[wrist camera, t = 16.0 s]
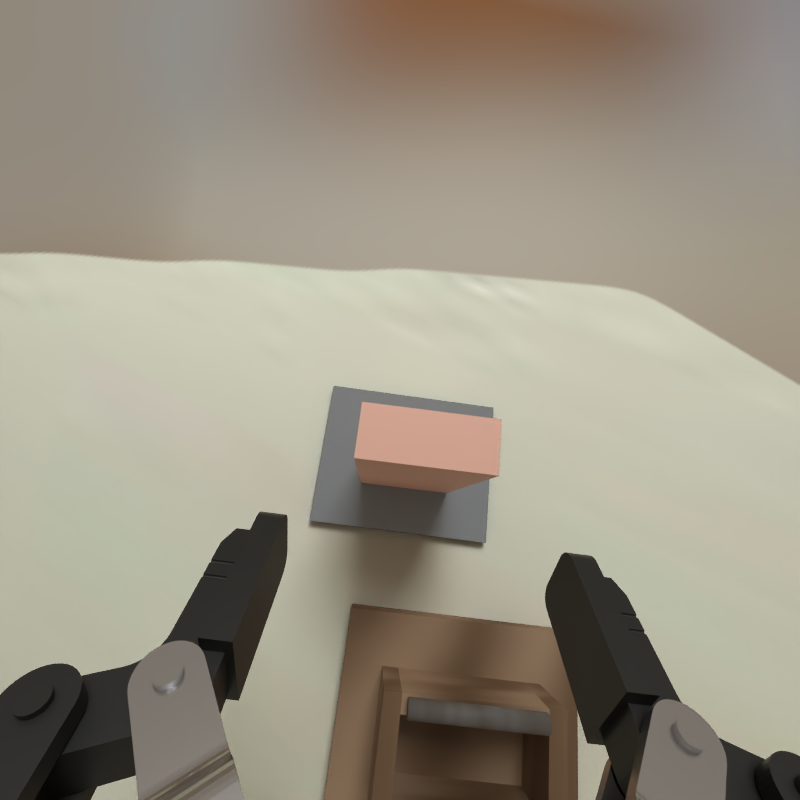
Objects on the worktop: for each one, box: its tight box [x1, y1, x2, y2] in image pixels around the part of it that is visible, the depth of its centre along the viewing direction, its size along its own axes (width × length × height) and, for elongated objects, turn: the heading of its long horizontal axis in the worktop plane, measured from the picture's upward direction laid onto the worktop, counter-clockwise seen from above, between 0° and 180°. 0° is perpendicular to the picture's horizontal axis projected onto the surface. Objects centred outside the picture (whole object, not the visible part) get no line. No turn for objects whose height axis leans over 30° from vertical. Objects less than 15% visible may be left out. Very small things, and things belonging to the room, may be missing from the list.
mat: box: [310, 386, 493, 543], centre depth 24 cm, size 10×8×1 cm
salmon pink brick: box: [354, 402, 501, 493], centre depth 19 cm, size 5×2×10 cm, turn 84°
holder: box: [324, 604, 578, 800], centre depth 18 cm, size 12×10×5 cm
